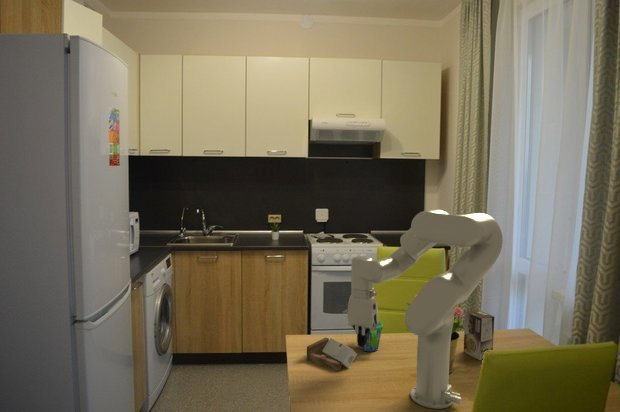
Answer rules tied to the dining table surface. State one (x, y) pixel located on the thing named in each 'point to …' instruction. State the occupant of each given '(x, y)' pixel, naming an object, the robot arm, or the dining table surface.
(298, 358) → the dining table surface
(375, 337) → the snack cup
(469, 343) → the coffee box
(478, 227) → the robot arm
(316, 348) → the u rest
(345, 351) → the skincare box
